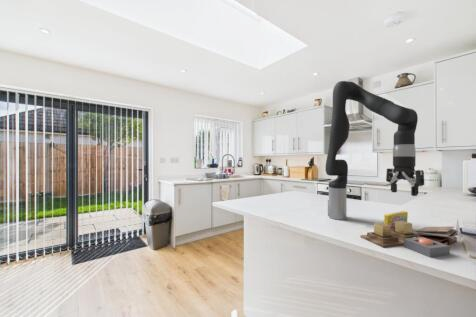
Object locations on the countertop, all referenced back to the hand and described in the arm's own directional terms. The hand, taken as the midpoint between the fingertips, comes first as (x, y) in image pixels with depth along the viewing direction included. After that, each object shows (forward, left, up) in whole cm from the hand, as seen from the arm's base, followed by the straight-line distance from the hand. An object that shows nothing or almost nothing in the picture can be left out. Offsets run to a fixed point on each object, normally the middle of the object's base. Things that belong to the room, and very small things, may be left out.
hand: (403, 193), depth 89 cm
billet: (0, 0, -18) cm, 18 cm away
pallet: (0, -6, -19) cm, 20 cm away
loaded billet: (0, -11, -19) cm, 22 cm away
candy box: (-9, +6, -19) cm, 22 cm away
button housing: (+11, -4, -19) cm, 22 cm away
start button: (+11, -4, -18) cm, 22 cm away
